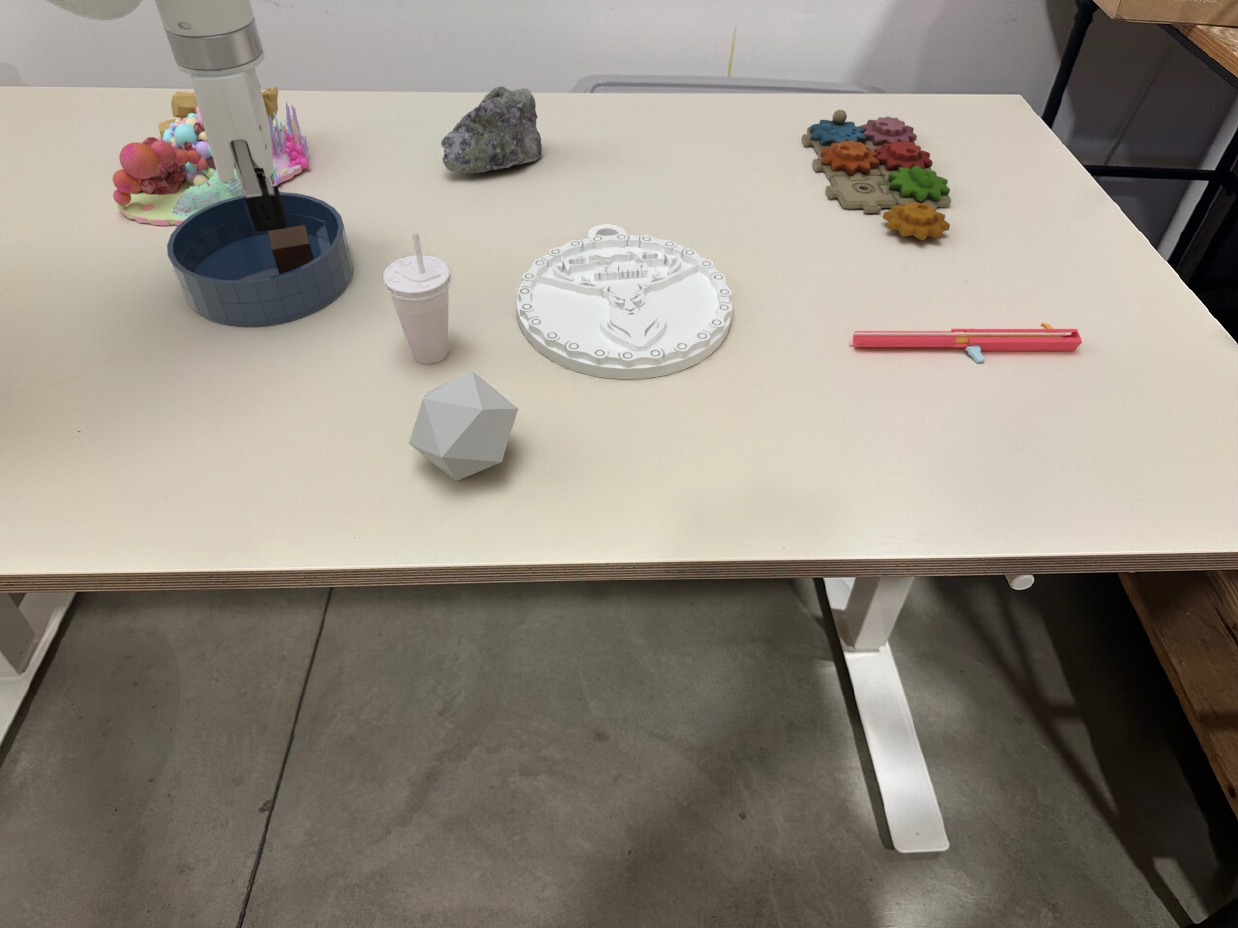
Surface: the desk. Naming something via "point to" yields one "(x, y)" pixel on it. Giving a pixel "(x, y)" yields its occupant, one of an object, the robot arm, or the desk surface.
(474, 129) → the mineral rock
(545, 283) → the medallion
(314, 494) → the desk surface
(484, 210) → the desk surface
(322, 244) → the bowl
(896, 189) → the gear puzzle
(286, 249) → the block
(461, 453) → the die
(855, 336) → the red long bar
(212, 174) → the pastel sphere sculpture
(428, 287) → the smoothie
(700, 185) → the desk surface
